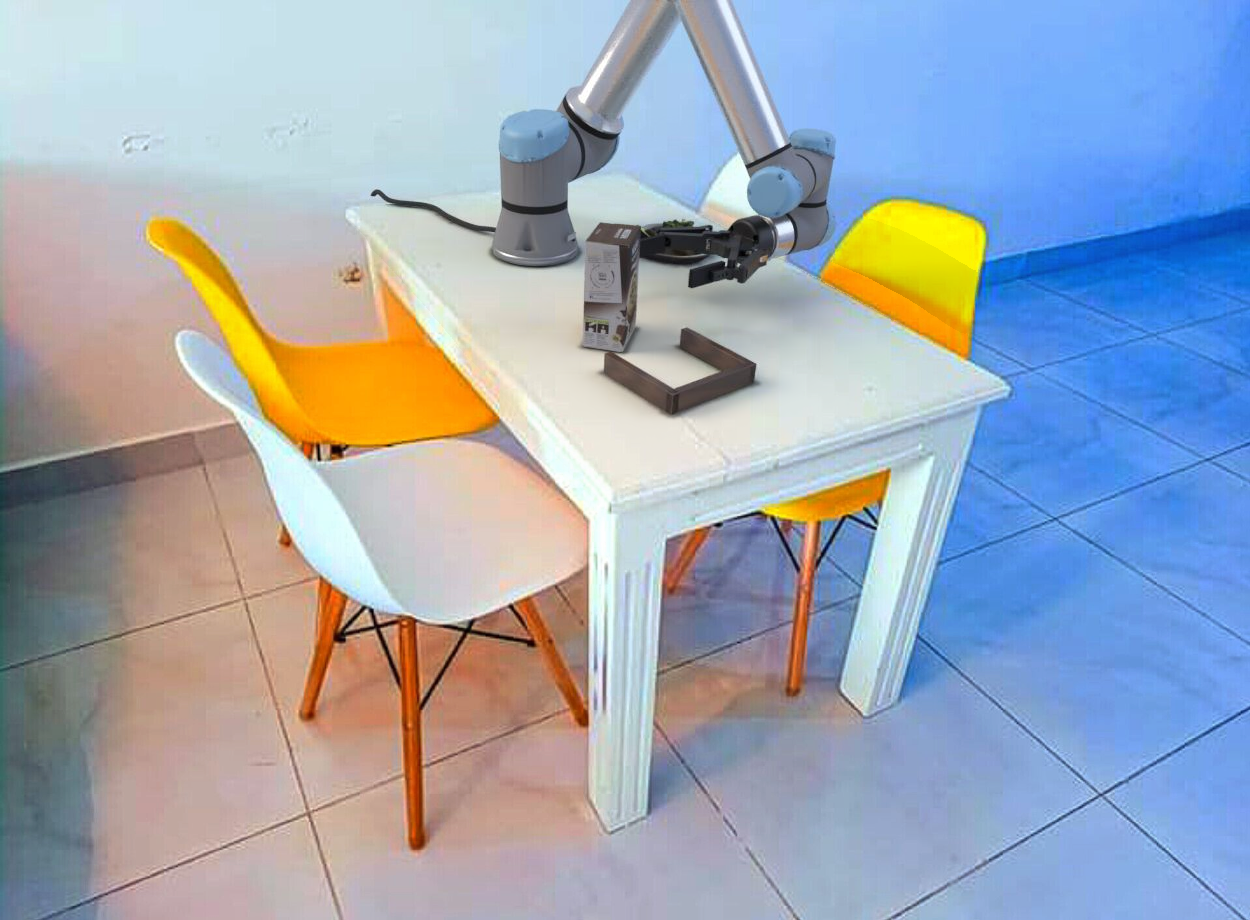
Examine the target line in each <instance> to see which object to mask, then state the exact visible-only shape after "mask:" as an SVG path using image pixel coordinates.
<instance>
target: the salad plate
mask: <svg viewBox="0 0 1250 920" xmlns="http://www.w3.org/2000/svg"><path fill="white" fill-rule="evenodd" d="M635 225H636V226H641V237H640V239H643V238H647V237H652V236H655V228H668V227H694V226H695V222H694V221H693V220H686V219H685V218H682V219H681V221H679V220H677V219H673V220H668V221H663V222H662V223H659V222H658V223H649V224H645V225H644V226H642V225H639V224H635ZM709 247H710V242H708V243H707V245H706V248H707V249H709ZM711 256H712V255H711V254H702V253H701V251H692V250H672V249H664V252H662V253H658V254H654V255H650V256H646V257H642V258H641V259H645V260H649V261H652V262H656V263H661V264H667V265H674V266H676V265H677V266H692V265H695V264H699V263H701V262H702V261H704V260H706V259H708V258H709V257H711Z"/></svg>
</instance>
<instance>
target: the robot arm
mask: <svg viewBox="0 0 1250 920" xmlns="http://www.w3.org/2000/svg"><path fill="white" fill-rule="evenodd" d="M680 23H682V25H683V28H684V30H685V32H686V34H687V36H688V39H689V41H690V43H691V46H692V48H693V51H694V53H695V56H696V57H697V60H698V61H699V65H700V67H701V69H702V71H703V74H704V75H705V77H706V80H707V82H708V84H709V87H710V89H711V92H712V94H713V96H714V99H715V101H716V103H717V105H718V107H719V110H720V112H721V115H722V117H723V119H724V121H725V124H726V126H727V128H728V130H729V133H730V135H731V137H732V140H733V142H734V145H735V146H736V149H737V152H738V154H739V155H740V159H741V160H742V162H743V165H744V167H745V170H746V172H747V175H748V177H749V181H748V183H747V187H746V198H747V202H748V204H749V206H750V208H751V209H752V210H753V211H754V212H755V213H756V214H754V215H750V216H745V217H742V218H738V219H736V220H734V221H733V223H731V225H730V226H729V227H728V228H727V230H724V229H720V230H719V231H715V230H714V226H713V225H712V224H706V225H699V226H693V227H668V228H655V236H652V237H647V238H643V239H640V254H639V259H643V258H642V257H646V256H650V255H654V254H658V253H662V252H664V249H672V250H692V251H701V253H702V254H711V255H710V256H712V255H715V256H718V257H720V258H722V259H726V260H727V261H724V260H719V261H715V262H712V263H708V264H704V265H701V266H696V267H693V268H690V269H688V270H689V272H688V282H687V287H688V288H689V289H695V288H698V287H702V286H706V285H709V284H712V283H716V282H717V283H718V282H720V281H724V280H726V281H733V280H736V282H737V283H738V284H742V285H743V284H745V283H746V282H747V281H748V280H749V279H750V278H751V277H752V276H753V275H754V274H755V273H756V272H757V271H758V270H759V268H762V267H765V266H767V263H768V262H770V261H772V260H774V259H777V258H780V257H785V256H789V255H791V254H796V253H799V252H804V251H810V250H813V249H814V248H817V247H820V246H822V245H824V244H826V243H828V242H829V241H830V240H831V238H832V237H834V235H835V231H836V228H837V220H836V218H835V211H834V210H833V208H832V207H831V205H830V204H828V203H827V200H828V194H829V189H830V183H831V177H832V171H833V165H834V160H835V159H836V156H835V153H836V142H837V141H836V140H837V139H836V137H835V135H834V134H833V133H832V132H829V131H827V130H823V129H818V128H798V129H795V130H793V131H792V132H791V133H790V134H789V135H788V132H787V130H786V127H785V125H784V123H783V121H782V118H781V116H780V114H779V111H778V109H777V106H776V103H775V102H774V99H773V97H772V94H771V92H770V89H769V87H768V84H767V82H766V80H765V77H764V75H763V73H762V72H763V71H761V67H760V65H759V63H758V61H757V58H756V56H755V53H754V51H753V49H752V45H751V44H750V42H749V39H748V37H747V35H746V32H745V29H744V27H743V25H742V21H741V20H740V17H739V14H738V12H737V10H736V8H735V6H734V3H733V0H629V2H628V4H627V5H626V7H625V9H624V11H623V12H622V14H621V16H620V17H619V20H618V21H617V23H616V24H615V26H614V28H613V29H612V31H611V32H610V35H609V36H608V38H607V40H606V42H605V43H604V45H603V47H602V49H601V50H600V52H599V54H598V55H597V57H596V59H595V60H594V62H593V64H592V65H591V67H590V69H589V71H588V73H587V74H586V76H585V78H584V79H583V81H582V83H581V85H575V86H572V87H570V88H568V90H567V91H566V93H565V95H564V96H563V98H562V100H561V102H560V103H559V105H558V107H557V109H556V110H552V109H544V108H540V109H539V108H537V109H536V108H535V109H530V110H528V111H527V110H522V111H518V112H515V113H513V114H510V115H509V116H507V117H506V118H505V119H504V120H503V121H502V122H501V124H500V128H499V140H498V151H499V169H500V170H499V171H500V172H499V173H500V174H499V175H500V197H501V198H500V199H501V202H500V203H501V208H500V209H501V210H500V213H499V216H498V221H497V223H496V227H495V226H487V225H478V224H474V223H472V222H468V221H465V220H462V219H460V218H458V217H456V216H454V215H451V214H450V213H447V212H446V211H445V210H443V209H442V208H441V207H439V206H437V205H434V204H432V203H428V202H423V201H415V200H402V199H397V198H396V199H395V198H391V197H389V196H387V195H386V194H385V193H384V192H383V191H382V190H381V189H378V188H377V189H374V190H372V192H371V193H370V197H376V196H377V195H378V196H379V197H380V198H381V199H382V200H383V201H385V202H386V203H388V204H391V205H395V206H396V205H397V206H398V205H399V206H407V207H417V208H423V209H428V210H432V211H434V212H436V213H437V214H438V215H440V216H441V217H442V218H445V219H446V220H448V221H451V222H452V223H454V224H457V225H459V226H461V227H464V228H467V229H470V230H473V231H478V232H488V233H494V234H493V237H492V242H491V243H492V245H491V246H492V253H493V255H494V256H495V257H496V258H497V259H499V260H501V261H503V262H506V263H509V264H513V265H517V266H526V267H548V266H554V265H560V264H564V263H567V262H568V261H572V259H574V258H575V257H576V256H577V254H578V238H577V231H575V229H574V225H573V222H572V219H571V216H570V213H569V183H571V182H573V181H576V180H579V179H580V178H582V177H584V176H587V175H590V174H594V173H597V172H598V171H600V170H602V168H604V167H605V166H606V165H608V164H609V163H610V162H611V161H612V160H613V159H614V157H615V155H616V154H617V151H618V149H619V146H620V140H621V139H620V135H621V133H622V131H623V129H624V128H625V121H624V119H623V114H624V112H625V110H626V109H627V108H628V106H629V105H630V102H631V101H632V99H633V98H634V96H635V95H636V93H637V92H638V90H639V88H640V87H641V85H642V83H643V82H644V80H645V79H646V77H647V75H648V74H649V72H650V71H651V69H652V68H653V67H654V64H655V63H656V61H657V60H658V58H659V56H660V55H661V53H662V52H663V50H664V48H666V45H667V44H668V42H669V41H670V39H671V38H672V36H673V34H674V33H675V31H676V29H677V28H678V26H679V25H680ZM708 242H710V247H709V249H707V248H706V245H707V243H708Z"/></svg>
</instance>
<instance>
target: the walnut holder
mask: <svg viewBox="0 0 1250 920" xmlns="http://www.w3.org/2000/svg"><path fill="white" fill-rule="evenodd" d="M679 348H680V349H682V350H684V351H685V352H687V353H688V354H691V355H692V356H695V357H697V358H698V359H700V360H702V361H704V362H705V363H708V364H709V365H711V366H713V367H714V368H716V369H718V370H720V371H718V372H716V373H713V374H710V375H708V376H705V377H702V378H699V379H697V380H694V381H690V382H688V383H686V384H682V385H680V386H678V387H675V388H673V387H672V386H670V385H668V384H667V383H665V382H663V381H662V380H660V379H658V378H656V376H653V375H652V374H649V373H648V372H647V371H644V369H641V368H640V367H638V366H637V365H635V364H633V363H631V362H629V361H628V360H627V359H625V358H623V357H621V356H619V355H618V354H616V353H615V352H614V351H608V352H605V353H604V354H603V356H604V357H603V374H605V375H606V376H608V377H609V378H611V379H613V380H614V381H616V382H618V383H619V384H621V385H622V386H624V387H625V388H627V389H629V390H630V391H632V392H634V393H635V394H637V395H638V396H640V397H642V398H643V399H645V400H647V401H648V402H649V403H651V404H653V405H655V406H656V407H657V408H659V409H661V410H662V411H664V412H666V413H667V414H669V415H671V416H672V415H674V414H677V413H679V412H682V411H685V410H687V409H691V408H693V407H695V406H698V405H700V404H704V403H705V402H708V401H710V400H714V399H716V398H719V397H721V396H724V395H726V394H729V393H731V392H733V391H736V390H739V389H742V388H744V387H747V386H749V385H752V384H755V378H756V371H757V363H756V362H754V361H753V360H750V359H748V358H747V357H745V356H743V355H741V354H739V353H737V352H735V351H733V350H731V349H730V348H727V347H725V345H722V344H720V343H718V342H716V341H714V340H712V339H711V338H709V337H707V336H704V335H702V334H701V333H699V332H697V331H696V330H693V329H691V328H689V327H687V326H686V327H683V328H681V329H680V336H679Z"/></svg>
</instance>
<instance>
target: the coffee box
mask: <svg viewBox="0 0 1250 920" xmlns="http://www.w3.org/2000/svg"><path fill="white" fill-rule="evenodd" d="M636 225H637V224H635V225H634V224H628V223H627V224H626V223H611V222H602V221H600V222H599V223H598V224H597V225H596V227H595V228H594V229H593V230H592V232H591V233H590V234H589V236H587V238H586V240H585V251H584V253H585V254H584V281H583V282H584V284H583V285H584V287H583V319H582V321H583V323H582V347H585V348H592V349H598V350H605V351H610V352H616V353H617V352H618V353H623V352H624V350H625V349H626V347H627V345H628V344H629V340H630V339H631V337H632V336H633V333H634V331H635V329H636V327H637V326H636V325H637V310H638V308H637V307H638V291H639V290H638V288H639V274H640V273H639V270H640V269H639V268H640V258H639V254H640V237H641V226H642V225H640V226H636Z"/></svg>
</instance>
